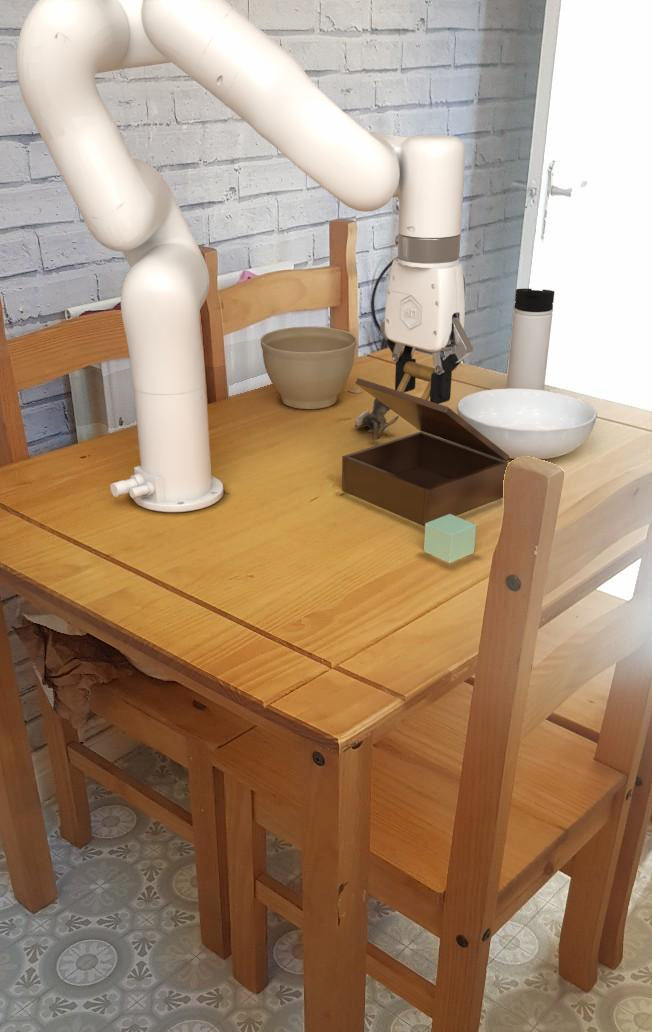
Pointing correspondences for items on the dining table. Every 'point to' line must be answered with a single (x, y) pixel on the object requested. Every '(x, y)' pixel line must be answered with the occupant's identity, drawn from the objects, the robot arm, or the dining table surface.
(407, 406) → the lid
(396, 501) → the box
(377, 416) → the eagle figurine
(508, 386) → the travel mug
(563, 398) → the serving bowl
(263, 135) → the robot arm
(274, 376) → the planter bowl
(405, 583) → the dining table surface
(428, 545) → the block
